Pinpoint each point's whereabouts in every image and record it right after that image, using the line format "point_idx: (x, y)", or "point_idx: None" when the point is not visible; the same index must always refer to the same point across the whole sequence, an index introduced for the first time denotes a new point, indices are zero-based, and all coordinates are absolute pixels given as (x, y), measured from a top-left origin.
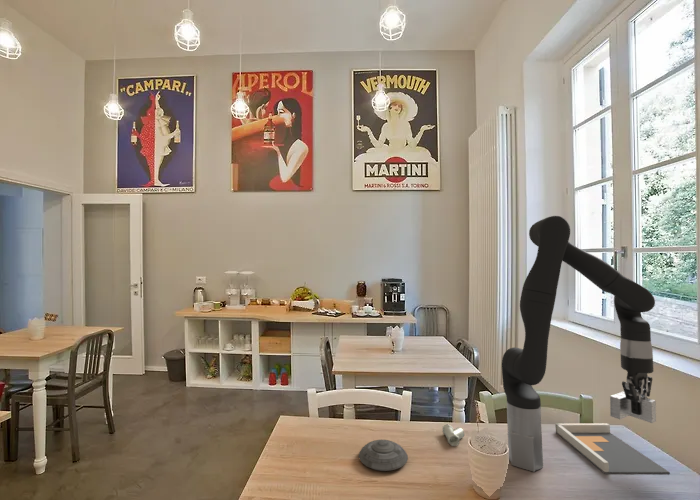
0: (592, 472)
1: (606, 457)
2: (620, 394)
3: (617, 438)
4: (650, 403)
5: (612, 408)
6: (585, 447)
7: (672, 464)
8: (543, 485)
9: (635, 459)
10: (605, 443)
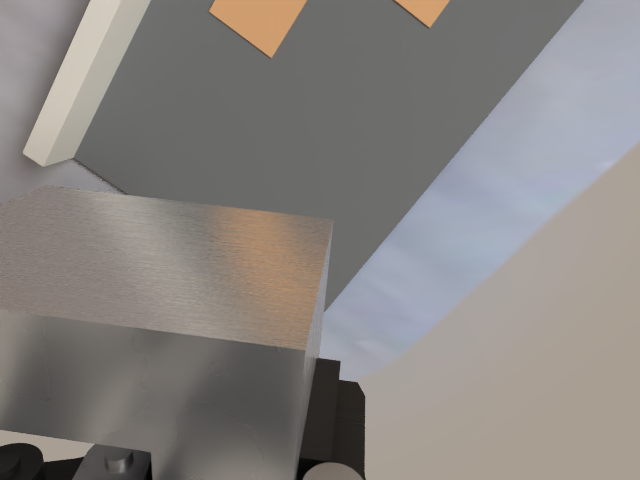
0: (15, 104)
1: (206, 96)
2: (63, 365)
3: (536, 41)
4: None
5: None
6: (86, 9)
7: (426, 310)
8: None
9: (315, 199)
10: (386, 20)
